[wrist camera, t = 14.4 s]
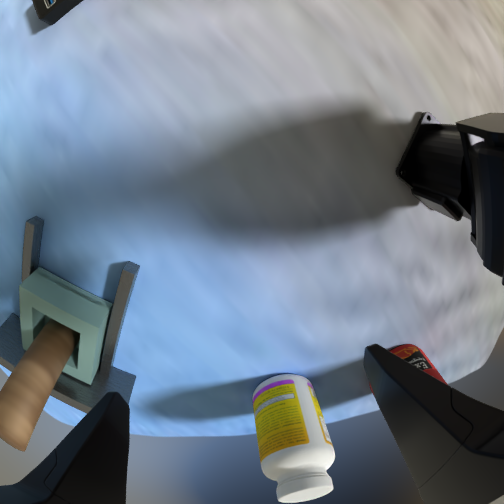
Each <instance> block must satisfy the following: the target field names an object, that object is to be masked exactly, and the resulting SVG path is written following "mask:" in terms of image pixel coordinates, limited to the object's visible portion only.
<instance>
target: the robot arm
mask: <svg viewBox="0 0 504 504" xmlns="http://www.w3.org/2000/svg"><path fill="white" fill-rule="evenodd" d="M427 116H428V120H427ZM402 170H403V174H402V175H401V171H402ZM396 175H397V176H398V177H399V178H400V179H401V180H402V181H404V182H405V183H406V184H407V185H409V186H410V187H411V188H412V194H413V195H415V196H416V197H417V198H418V199H419V200H420V201H422V202H423V203H424V204H425V205H426V206H428V207H429V208H431V209H433V210H435V211H437V212H439V213H442V214H444V215H446V216H448V217H450V218H452V219H454V220H456V221H459V220H461V218H462V216H464V217H466V218H468V219H470V220H471V225H472V232H471V241H472V242H473V244H474V245H475V246H476V247H477V252H478V253H479V255H480V257H481V258H482V260H483V265H484V266H485V267H486V268H487V269H488V270H490V271H491V272H492V273H494V274H496V275H498V276H500V277H503V278H502V285H504V113H488V114H484V115H480V116H476V117H473V118H469V119H465V120H462V121H458V122H456V125H450V124H441V123H440V122H439V121H438V120H437V119H436V118H435V117H434V116H433V115H432V114H431V113H429V112H424V113H423V114H422V116H421V118H420V121H419V123H418V125H417V127H416V130H415V132H414V134H413V136H412V138H411V140H410V143H409V145H408V147H407V149H406V151H405V153H404V155H403V157H402V159H401V161H400V163H399V165H398V167H397V169H396ZM364 368H365V371H366V374H367V376H368V379H369V382H370V385H371V387H372V390H373V393H374V396H375V399H376V401H377V404H378V406H379V408H380V410H381V412H382V414H383V416H384V418H385V420H386V422H387V424H388V426H389V428H390V430H391V432H392V434H393V436H394V438H395V440H396V442H397V445H398V447H399V449H400V451H401V453H402V455H403V457H404V459H405V461H406V463H407V466H408V468H409V470H410V472H411V474H412V477H413V479H414V481H415V483H416V485H417V488H418V490H419V493H420V495H421V497H422V499H423V502H424V504H504V411H502V410H500V409H497V408H495V407H492V406H489V405H487V404H485V403H482V402H480V401H477V400H475V399H473V398H471V397H469V396H467V395H465V394H463V393H461V392H459V391H458V390H456V389H454V388H451V387H450V386H449V385H447V384H445V383H443V382H442V381H440V380H438V379H436V378H435V377H433V376H431V375H430V374H428V373H426V372H424V371H423V370H421V369H419V368H417V367H416V366H414V365H412V364H410V363H409V362H407V361H405V360H404V359H402V358H400V357H398V356H397V355H395V354H393V353H392V352H390V351H388V350H387V349H385V348H383V347H381V346H380V345H378V344H373V345H370V346H367V347H366V348H365V353H364ZM129 415H130V409H129V405H128V403H127V402H126V401H125V400H124V398H123V397H122V396H121V394H120V393H119V392H117V391H110V392H107V393H106V394H105V395H104V397H103V398H102V399H101V400H100V401H99V402H98V403H97V404H96V405H95V406H94V407H93V408H92V409H91V410H90V411H89V412H88V414H87V415H86V416H85V417H84V418H83V419H82V420H81V421H80V422H79V423H78V424H77V425H76V426H75V427H74V429H73V430H72V431H71V432H70V433H69V434H68V435H67V436H66V437H65V438H64V439H63V440H62V441H61V442H60V444H59V445H58V446H57V447H56V448H55V449H54V450H53V451H52V452H51V453H50V454H49V455H48V456H47V457H46V458H45V459H44V460H43V461H42V462H41V463H40V464H39V465H38V466H37V467H36V468H35V469H34V470H32V471H31V472H30V473H29V474H28V475H27V476H26V477H24V478H23V479H22V480H21V481H20V482H18V483H16V484H13V485H5V486H0V504H126V481H127V466H128V454H129Z"/></svg>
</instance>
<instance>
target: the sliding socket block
mask: <svg viewBox="0 0 504 504" xmlns="http://www.w3.org/2000/svg"><path fill="white" fill-rule="evenodd" d="M19 303H20V322H21V334H22V344H23V349H25V350H26V351H27V349H28V348H29V347H30V345H31V344H32V342H33V341H34V340H35V338H36V337H37V335H38V334H39V333H40V331H41V330H42V329H43V327H44V326H45V325H46V323H47V322H48V321H49V320H50V318H52V319H54V320H56V321H57V322H59V323H61V324H63V325H65V326H67V327H69V328H71V329H73V330H75V331H77V332H79V333H80V340H79V342H78V344H77V345H76V347H75V349H74V351H73V352H72V354H71V356H70V358H69V359H68V361H67V363H66V365H65V367H64V369H63V370H62V371H63V372H65V373H67V374H69V375H71V376H73V377H75V378H77V379H79V380H81V381H83V382H85V383H87V384H90V385H91V383H92V381H93V379H94V376H95V374H96V372H97V369H98V367H99V365H100V362H101V359H102V353H103V348H104V342H105V337H106V332H107V328H108V323H109V319H110V314H111V310H112V306H113V304H112V303H110V302H108V301H106V300H104V299H102V298H99V297H97V296H95V295H93V294H91V293H89V292H87V291H85V290H83V289H81V288H79V287H77V286H75V285H73V284H71V283H69V282H67V281H65V280H63V279H61V278H59V277H58V276H56V275H54V274H52V273H50V272H48V271H47V270H45V269H43V268H41V267H39V268H38V269H36V270H35V271H34V272H33V273H32V274H31V275H30V276H29V277H28V278H26V279H25V280H24V281H23V282H22V283H21V284H20V285H19Z"/></svg>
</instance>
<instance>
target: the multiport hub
mask: <svg viewBox="0 0 504 504" xmlns="http://www.w3.org/2000/svg"><path fill="white" fill-rule="evenodd" d="M32 1H33V4H34V7H35V10H36V12H37V15H38V17H39V19H40V20H42V21H44V22H46V23H48V24H50V25H53V24H55V23H56V22H57V21H58V20H59V19H60V18H62V17H63V16H64V15H65V14H66V13H68V12H69V11H70V10H71V9H73V8H74V7H75V6H76V5H78V4H79V3H80V2H82V1H83V0H32Z"/></svg>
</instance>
